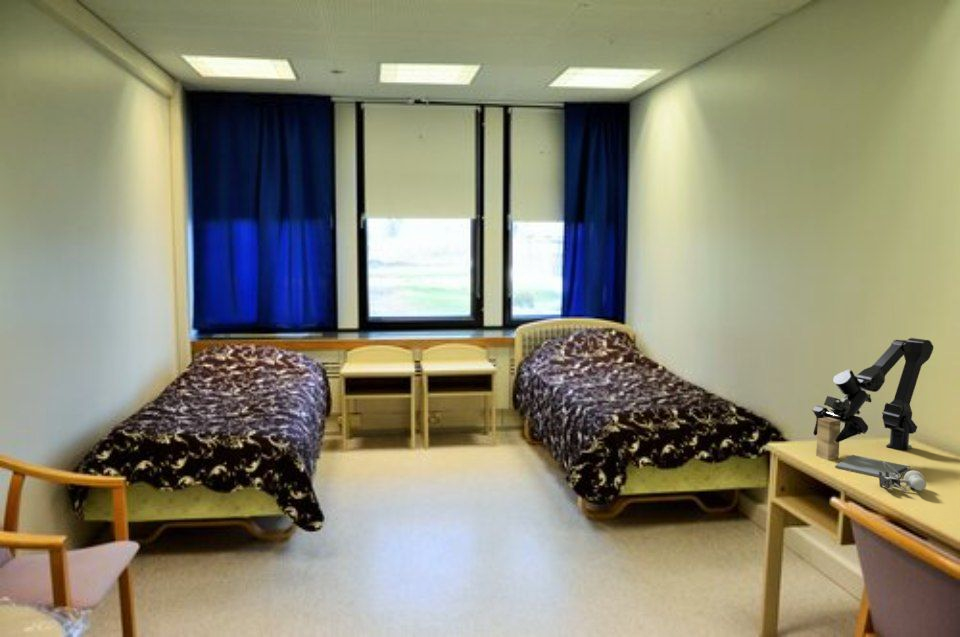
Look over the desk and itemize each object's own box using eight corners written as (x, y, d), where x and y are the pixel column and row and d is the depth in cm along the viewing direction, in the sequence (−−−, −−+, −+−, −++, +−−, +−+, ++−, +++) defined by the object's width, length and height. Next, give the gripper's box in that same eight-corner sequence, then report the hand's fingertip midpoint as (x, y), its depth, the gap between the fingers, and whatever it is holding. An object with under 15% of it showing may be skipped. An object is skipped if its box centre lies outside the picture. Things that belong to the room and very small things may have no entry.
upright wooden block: (826, 454, 238) (828, 417, 236) (838, 458, 233) (840, 420, 232) (816, 455, 236) (818, 418, 235) (827, 459, 232) (829, 421, 230)
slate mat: (852, 457, 235) (852, 454, 234) (909, 468, 222) (909, 466, 222) (835, 467, 223) (835, 465, 223) (894, 480, 211) (894, 478, 211)
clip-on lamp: (874, 479, 217) (883, 493, 200) (873, 459, 217) (882, 470, 200) (918, 481, 212) (931, 495, 196) (917, 460, 212) (929, 472, 196)
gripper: (817, 382, 242) (791, 416, 240) (863, 393, 225) (835, 430, 222) (833, 403, 246) (808, 436, 243) (880, 415, 228) (853, 451, 226)
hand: (825, 438), depth 234 cm, fingers open, 9 cm apart
